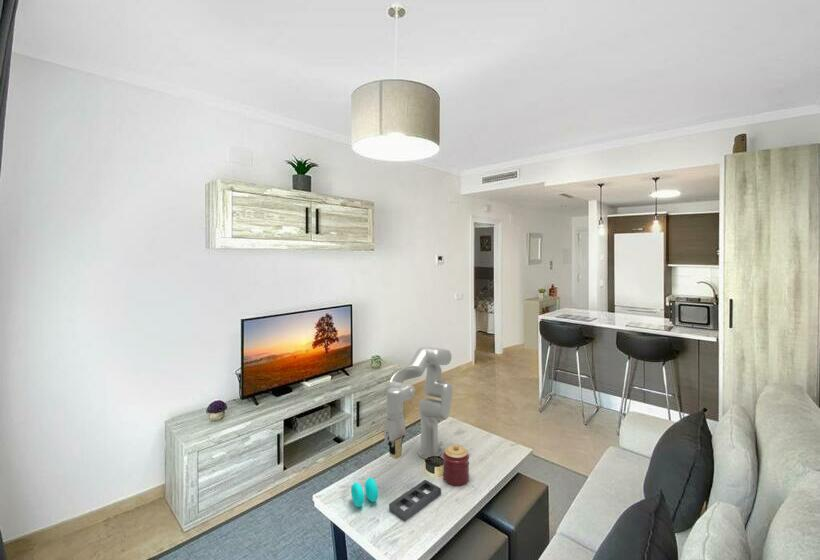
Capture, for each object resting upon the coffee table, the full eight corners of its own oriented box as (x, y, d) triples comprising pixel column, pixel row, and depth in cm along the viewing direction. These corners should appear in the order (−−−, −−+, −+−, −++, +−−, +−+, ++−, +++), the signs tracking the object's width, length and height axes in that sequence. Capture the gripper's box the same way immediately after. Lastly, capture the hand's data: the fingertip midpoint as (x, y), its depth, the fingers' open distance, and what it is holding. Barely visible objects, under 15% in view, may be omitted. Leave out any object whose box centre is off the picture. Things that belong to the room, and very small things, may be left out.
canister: (461, 468, 194) (461, 436, 193) (473, 483, 182) (473, 448, 181) (439, 473, 190) (438, 440, 189) (449, 489, 178) (449, 453, 177)
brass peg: (395, 452, 179) (395, 435, 178) (401, 456, 176) (401, 437, 176) (389, 456, 176) (389, 438, 176) (395, 459, 173) (395, 441, 173)
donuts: (379, 505, 167) (378, 484, 166) (358, 513, 162) (358, 491, 161) (370, 492, 176) (370, 472, 175) (350, 499, 171) (350, 479, 170)
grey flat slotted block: (425, 485, 181) (425, 479, 181) (441, 494, 174) (440, 488, 174) (389, 510, 163) (389, 503, 163) (405, 521, 157) (405, 514, 156)
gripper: (402, 406, 183) (402, 442, 185) (376, 418, 171) (377, 456, 173) (413, 411, 178) (413, 447, 180) (387, 423, 166) (388, 462, 168)
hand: (395, 451), depth 176 cm, fingers closed on brass peg, 4 cm apart
